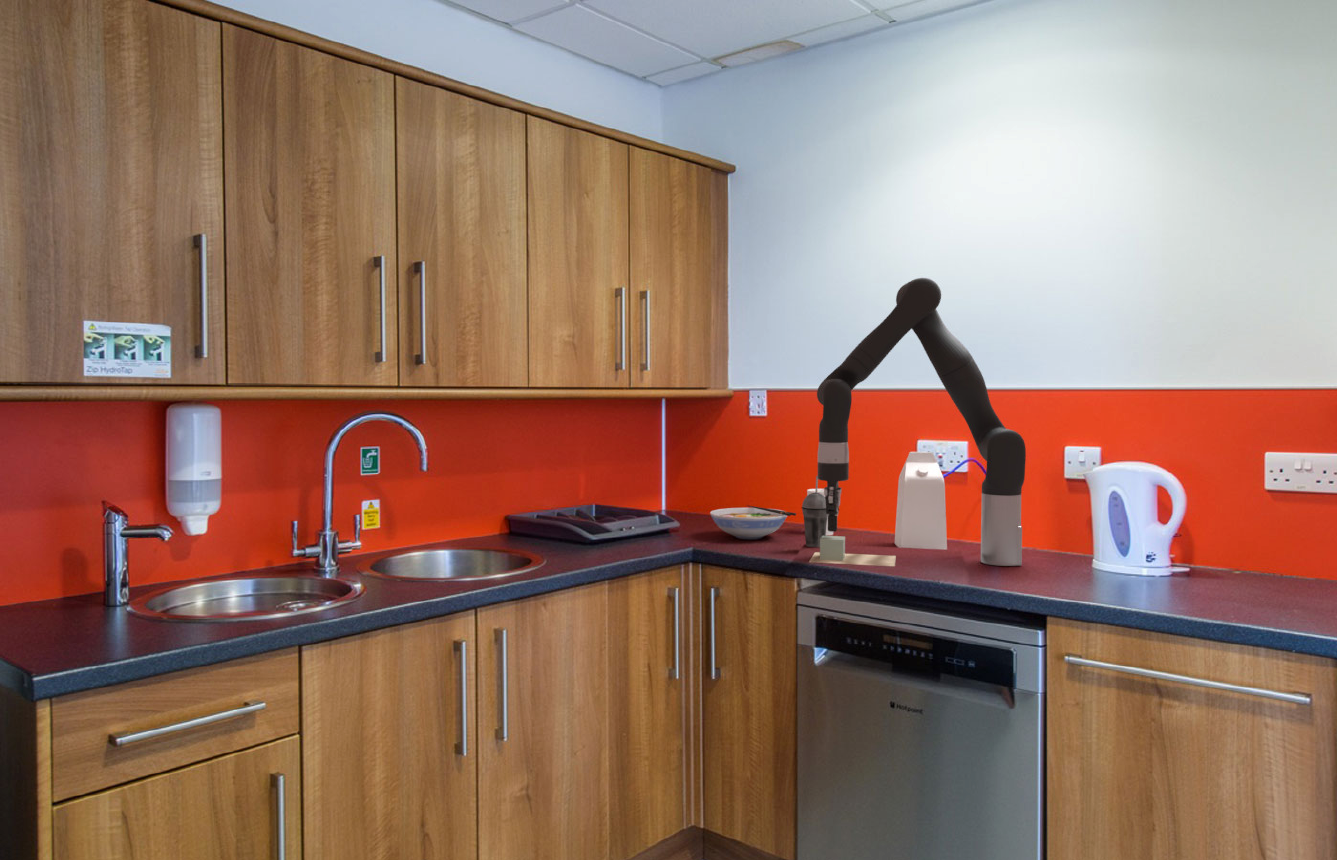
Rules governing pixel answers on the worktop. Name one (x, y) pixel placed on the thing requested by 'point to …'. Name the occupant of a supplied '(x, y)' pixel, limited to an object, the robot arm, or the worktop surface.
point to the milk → (921, 504)
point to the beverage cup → (814, 517)
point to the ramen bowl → (749, 521)
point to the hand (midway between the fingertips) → (832, 531)
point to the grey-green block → (832, 548)
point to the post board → (859, 559)
